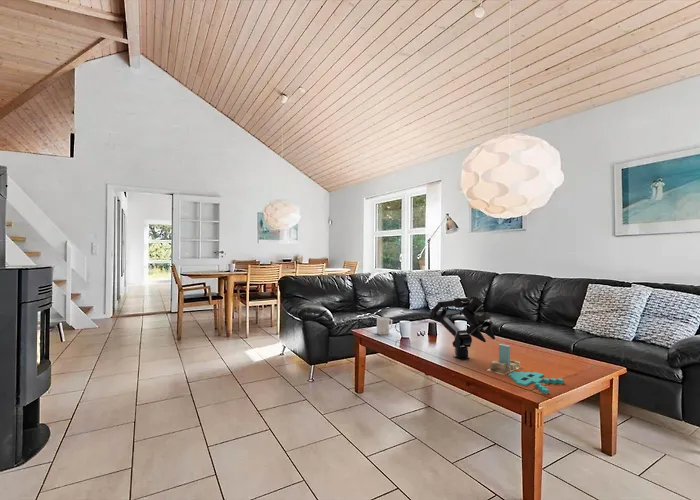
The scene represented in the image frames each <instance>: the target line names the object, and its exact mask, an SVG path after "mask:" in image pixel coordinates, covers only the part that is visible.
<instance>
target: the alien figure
mask: <svg viewBox="0 0 700 500" xmlns="http://www.w3.org/2000/svg"><path fill="white" fill-rule="evenodd" d="M507 374H508V375H507V376H508V377H509V378H510V379H511V380H512V381H513V382H515V384H516V385H520V386H523V387H528V386H529V385H531V384H534V388H536V389H537V390H538V391H539V390H540V393H541V394H544V395H546V394H547V395H549V394H550V393H549V392H550V389H549V388H547V387H546V386H545V385H543V384H547V385H548V384H553V385H556V384H559V385H564V383H565V379H563V378H559V377H558V378H557V379H556V378H553V377H551V378H547V377H544V374H543V373H540V372H537V371H533V372H530V371H526V372H524V371H519V372H518V371H516V370H514V371H512V372H510V373H507ZM542 377H544V378H542Z"/></svg>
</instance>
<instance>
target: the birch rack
mask: <svg viewBox="0 0 700 500" xmlns="http://www.w3.org/2000/svg"><path fill="white" fill-rule="evenodd" d="M497 361H498V362H499V360H497ZM506 367H507V368H508V372H506V373H504V374H503V373H499V372H496V371H492V370H490V368H488V369H487V371H488V372H491V373H496V374H498V375H501V376H506V375H507V374H510V373H512V372H514V371H516V370H518V369H521V368H522V366H521V361H517V360H512V359H510V366H508V365H506Z"/></svg>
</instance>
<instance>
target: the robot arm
mask: <svg viewBox="0 0 700 500" xmlns="http://www.w3.org/2000/svg"><path fill="white" fill-rule="evenodd" d="M482 306H483V301H482V300H481V299H480V298H478V297H476V295H472V296H471V297H470V299H469V297H466V296H464V297H455V298H454V299H452V300H440V301H437V303H436V304H435V306H434V307H433V308H432V309H431V312H430V318H431V319H432V320H433V321H435V322H437V323H440V324H441V325H442V326H443V327H444V328H445V329H446V330H447V331H448V332H449V333H451V335H453V337H454V340H453V341H452V346H453V348H455V355H453V358H456V359H459V360H467V359H470V356H469V350H468V349H469V348H471V345H472V342H473V338H475V339H477V340H479V341H481V342H483V343H486V342H487V340H486V339H485V337H484V335H483V334H482V332H481V330H482V331H483V333H484V334H485V335H487V336H488V337H489V338H491V339H492V340H495V339H496V337H495V334H494V331H493V326H494V322H493V320H491V314H490V313H489V312H488V311H487V312H483V313H482V314H481V315H480V314H476V312H478V310H479V309H480V308H481V307H482ZM450 307H455V308H457V309H459V316H462V315H463V317H464V318H465V320H467V321H466V323H467V324H470V325H469V326H468V327H467V328H466V329H462V330H461V329H460V328H458V327H457V326H456V325H455V324H454V323H453V322H452V321H451V320H450V319H449V317H447V312H448V311H447V310H448V309H447V308H450ZM472 337H473V338H472Z"/></svg>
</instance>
